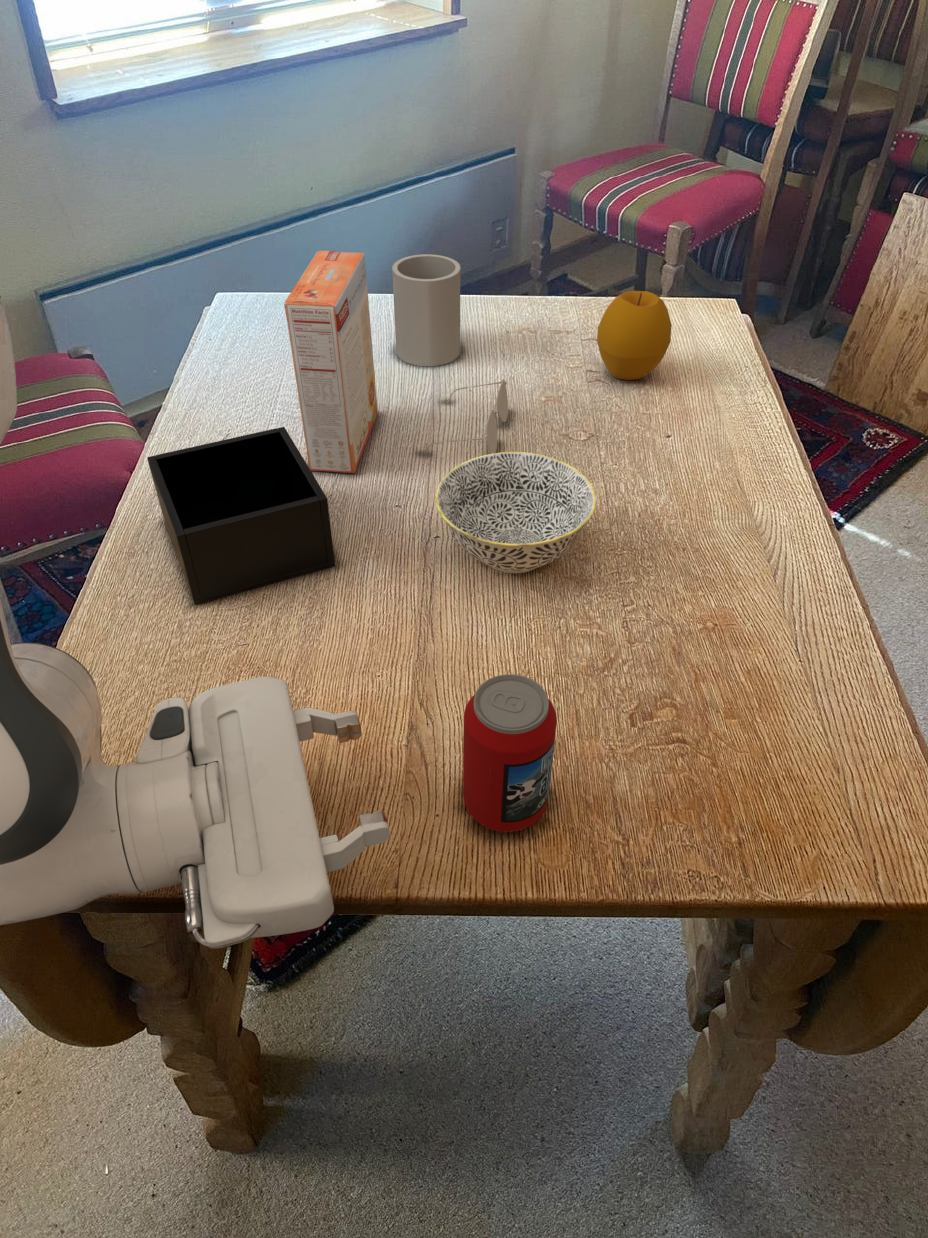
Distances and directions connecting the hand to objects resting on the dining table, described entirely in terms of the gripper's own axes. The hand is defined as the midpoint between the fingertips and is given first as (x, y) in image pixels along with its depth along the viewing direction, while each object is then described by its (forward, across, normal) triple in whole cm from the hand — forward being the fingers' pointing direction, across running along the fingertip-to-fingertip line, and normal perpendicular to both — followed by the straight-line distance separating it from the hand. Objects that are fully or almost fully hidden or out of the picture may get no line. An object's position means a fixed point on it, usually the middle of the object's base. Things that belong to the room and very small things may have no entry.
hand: (372, 771), depth 65 cm
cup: (+24, +76, +8) cm, 81 cm away
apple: (+49, +62, +8) cm, 79 cm away
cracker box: (+8, +56, +8) cm, 57 cm away
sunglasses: (+24, +54, +8) cm, 60 cm away
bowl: (+21, +30, +8) cm, 37 cm away
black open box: (-6, +39, +7) cm, 40 cm away
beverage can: (+10, 0, +8) cm, 13 cm away
